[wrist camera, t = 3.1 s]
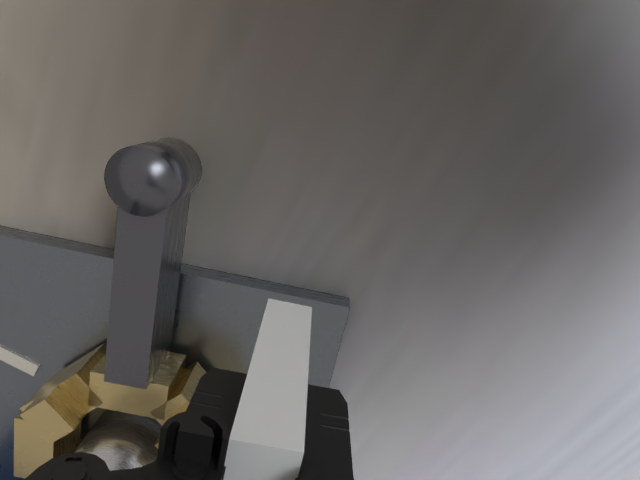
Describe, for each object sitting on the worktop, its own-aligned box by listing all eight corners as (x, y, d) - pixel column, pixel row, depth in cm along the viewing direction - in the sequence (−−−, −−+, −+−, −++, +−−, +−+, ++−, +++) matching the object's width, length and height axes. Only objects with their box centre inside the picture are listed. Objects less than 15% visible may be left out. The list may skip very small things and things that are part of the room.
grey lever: (222, 516, 28) (204, 583, 24) (44, 484, 27) (-3, 547, 23) (291, 163, 21) (283, 178, 17) (56, 112, 20) (-6, 115, 17)
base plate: (-14, 223, 24) (-179, 283, 16) (348, 297, 25) (358, 389, 17) (-10, 502, 30) (-129, 645, 22) (282, 554, 31) (266, 708, 23)
